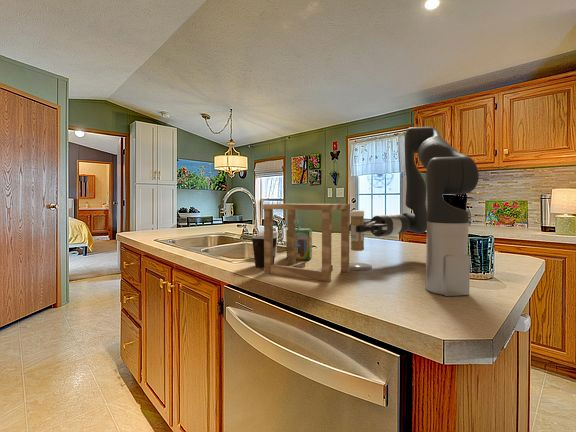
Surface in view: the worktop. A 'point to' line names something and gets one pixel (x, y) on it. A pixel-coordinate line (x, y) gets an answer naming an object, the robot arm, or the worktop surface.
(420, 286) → the worktop surface
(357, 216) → the sprinkles bottle
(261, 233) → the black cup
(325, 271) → the oak shelf
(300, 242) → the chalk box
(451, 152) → the robot arm
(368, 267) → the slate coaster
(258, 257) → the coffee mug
